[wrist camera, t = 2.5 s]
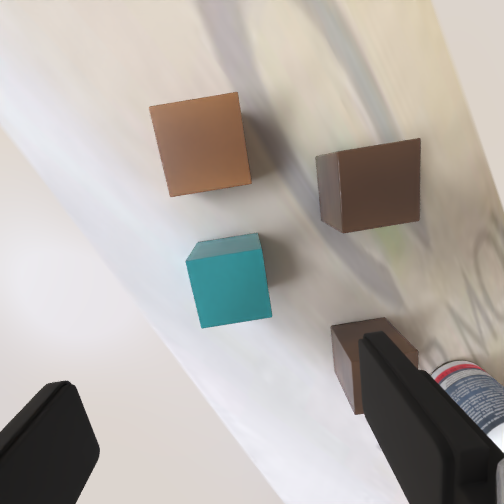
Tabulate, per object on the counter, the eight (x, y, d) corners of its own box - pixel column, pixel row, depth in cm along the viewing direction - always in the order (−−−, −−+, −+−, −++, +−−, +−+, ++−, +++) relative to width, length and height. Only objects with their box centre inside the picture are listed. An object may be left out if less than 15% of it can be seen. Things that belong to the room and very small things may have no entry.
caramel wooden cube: (170, 122, 18) (148, 106, 13) (238, 110, 18) (237, 91, 13) (186, 191, 19) (169, 197, 15) (249, 181, 19) (251, 183, 15)
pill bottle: (414, 376, 24) (510, 490, 15) (471, 348, 23) (605, 450, 15) (435, 417, 25) (535, 543, 17) (490, 391, 25) (622, 508, 16)
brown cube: (330, 325, 22) (351, 362, 18) (384, 317, 22) (418, 351, 18) (334, 371, 23) (354, 415, 19) (386, 363, 23) (417, 405, 19)
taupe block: (315, 156, 19) (337, 151, 14) (380, 145, 19) (421, 137, 14) (320, 220, 20) (342, 233, 16) (382, 210, 20) (420, 221, 15)
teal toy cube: (197, 242, 20) (185, 261, 16) (257, 232, 20) (261, 248, 16) (209, 297, 21) (201, 328, 17) (266, 288, 21) (272, 317, 17)
